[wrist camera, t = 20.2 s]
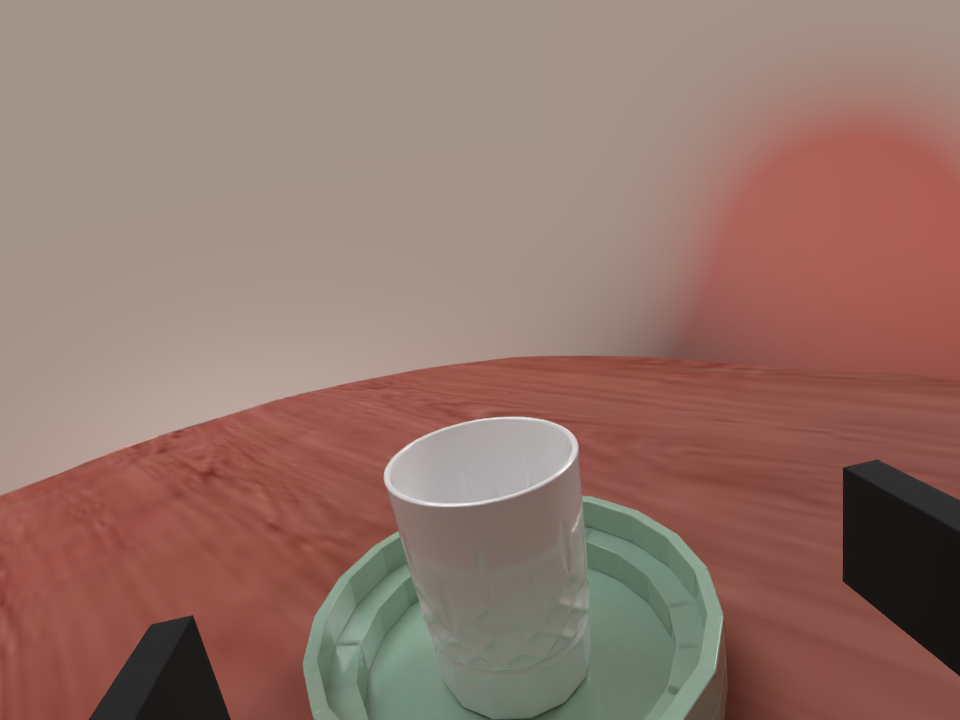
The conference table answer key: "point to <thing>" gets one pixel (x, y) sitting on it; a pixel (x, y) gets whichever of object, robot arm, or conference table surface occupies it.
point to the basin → (613, 627)
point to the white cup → (498, 559)
